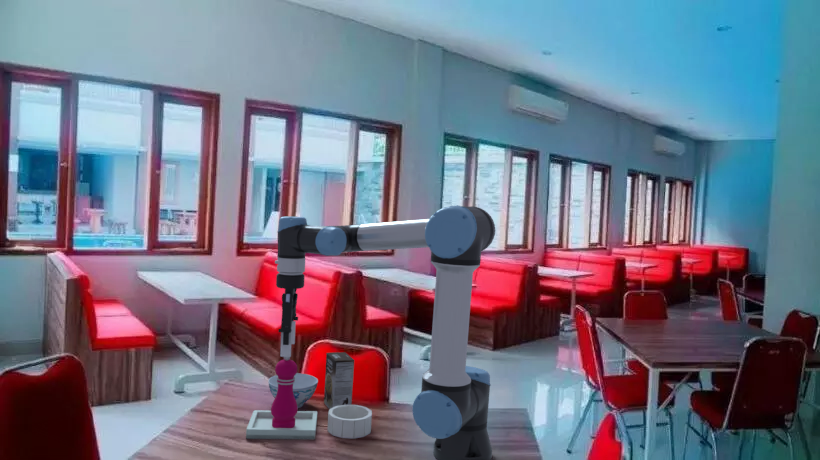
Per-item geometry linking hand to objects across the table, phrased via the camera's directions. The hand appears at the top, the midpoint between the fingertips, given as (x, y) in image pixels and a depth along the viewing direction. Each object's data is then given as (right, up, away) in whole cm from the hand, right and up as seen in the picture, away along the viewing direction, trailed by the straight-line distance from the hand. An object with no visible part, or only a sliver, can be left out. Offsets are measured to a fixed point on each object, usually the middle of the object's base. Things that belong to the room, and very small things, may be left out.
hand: (287, 349), depth 166 cm
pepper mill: (-1, -21, +1) cm, 21 cm away
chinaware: (-3, -21, +20) cm, 29 cm away
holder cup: (+17, -23, +4) cm, 29 cm away
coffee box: (+11, -22, +21) cm, 32 cm away
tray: (-2, -22, +1) cm, 22 cm away
